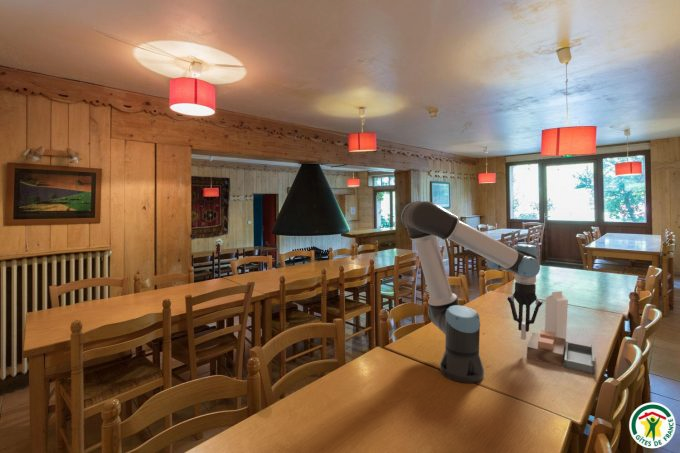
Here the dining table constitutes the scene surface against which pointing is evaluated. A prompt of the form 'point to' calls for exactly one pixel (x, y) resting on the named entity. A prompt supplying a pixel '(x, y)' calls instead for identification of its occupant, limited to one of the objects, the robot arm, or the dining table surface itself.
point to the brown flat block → (546, 350)
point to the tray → (579, 357)
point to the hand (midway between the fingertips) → (523, 338)
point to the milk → (556, 314)
